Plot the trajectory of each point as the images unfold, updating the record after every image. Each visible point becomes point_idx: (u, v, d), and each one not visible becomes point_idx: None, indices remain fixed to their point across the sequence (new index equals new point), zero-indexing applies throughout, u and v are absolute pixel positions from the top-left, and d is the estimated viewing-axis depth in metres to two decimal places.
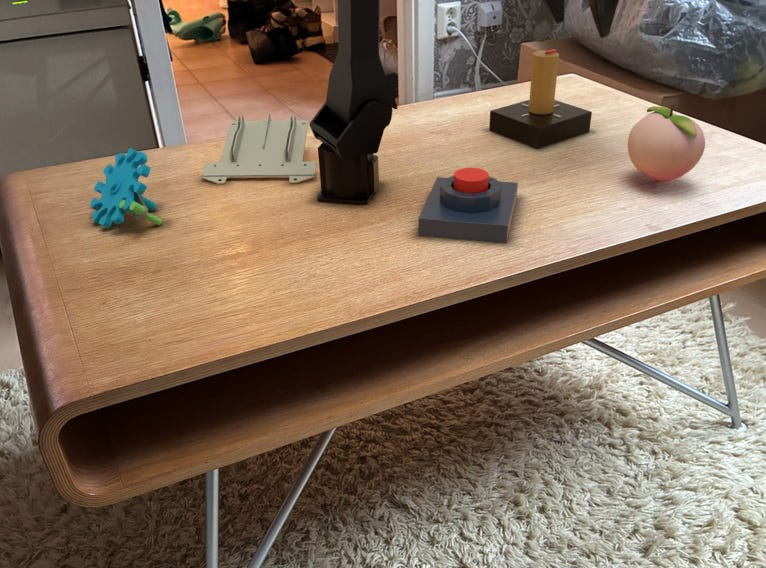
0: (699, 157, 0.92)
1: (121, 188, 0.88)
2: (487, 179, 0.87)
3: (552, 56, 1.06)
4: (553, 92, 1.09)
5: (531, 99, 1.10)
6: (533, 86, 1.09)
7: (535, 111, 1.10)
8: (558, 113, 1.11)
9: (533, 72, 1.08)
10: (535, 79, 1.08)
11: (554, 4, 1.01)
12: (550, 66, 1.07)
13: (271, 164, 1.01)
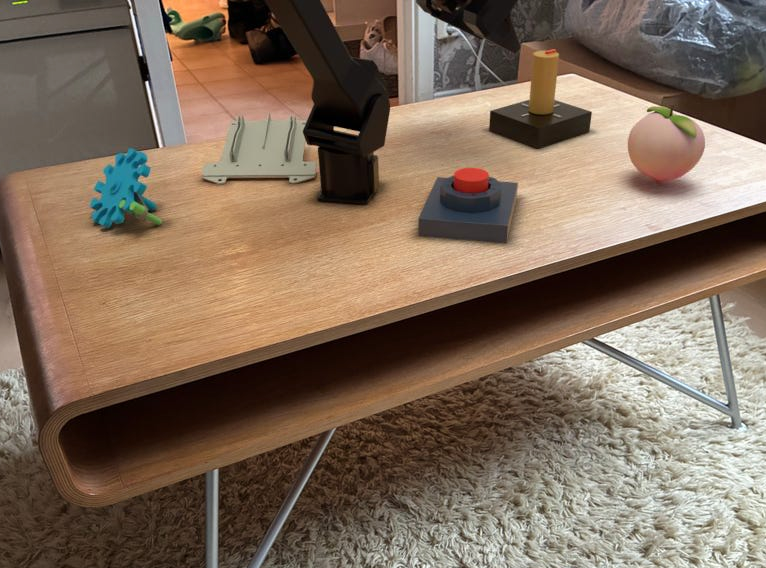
0: (699, 157, 0.92)
1: (121, 188, 0.88)
2: (487, 179, 0.87)
3: (552, 56, 1.06)
4: (553, 92, 1.09)
5: (531, 99, 1.10)
6: (533, 86, 1.09)
7: (535, 111, 1.10)
8: (558, 113, 1.11)
9: (533, 72, 1.08)
10: (535, 79, 1.08)
11: (470, 27, 1.05)
12: (550, 66, 1.07)
13: (271, 164, 1.01)
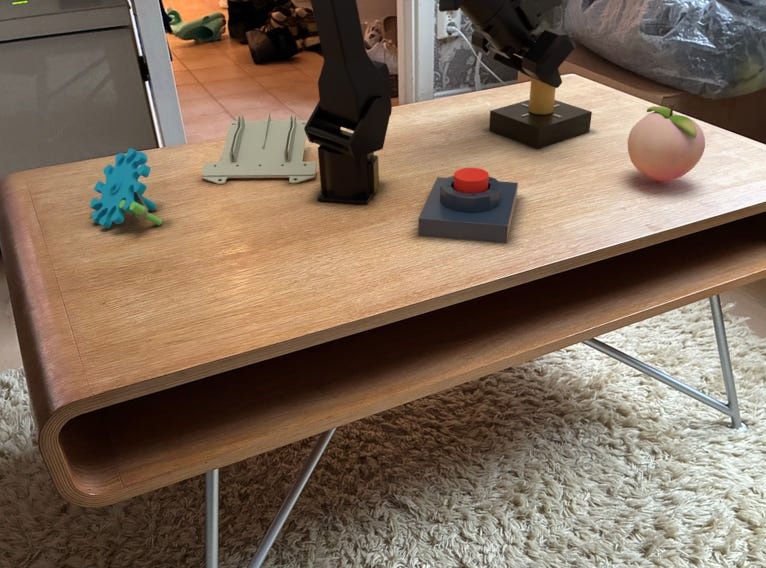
0: (699, 157, 0.92)
1: (121, 188, 0.88)
2: (487, 179, 0.87)
3: None
4: (553, 92, 1.09)
5: (531, 99, 1.10)
6: (533, 86, 1.09)
7: (535, 111, 1.10)
8: (558, 113, 1.11)
9: None
10: (535, 79, 1.08)
11: None
12: None
13: (271, 164, 1.01)
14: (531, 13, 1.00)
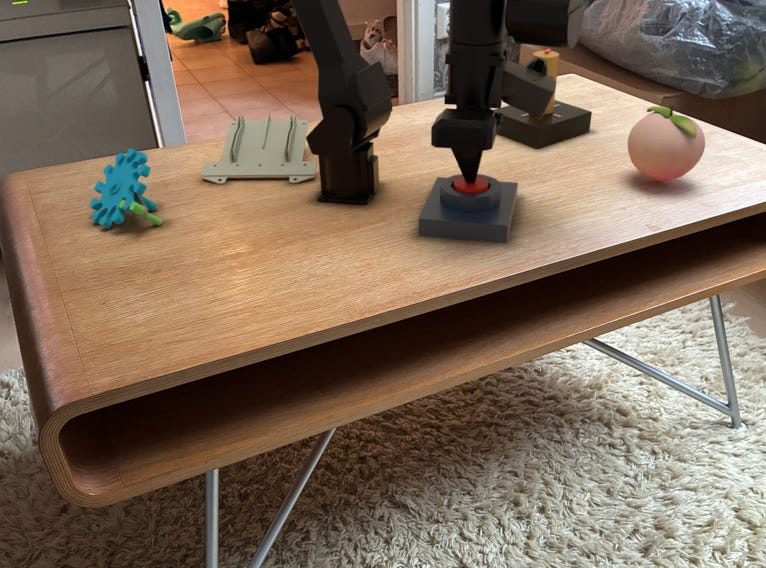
0: (699, 157, 0.92)
1: (121, 188, 0.88)
2: (487, 187, 0.87)
3: (556, 55, 1.06)
4: None
5: None
6: None
7: None
8: (558, 113, 1.11)
9: None
10: None
11: None
12: (556, 65, 1.07)
13: (271, 164, 1.01)
14: (498, 87, 0.78)
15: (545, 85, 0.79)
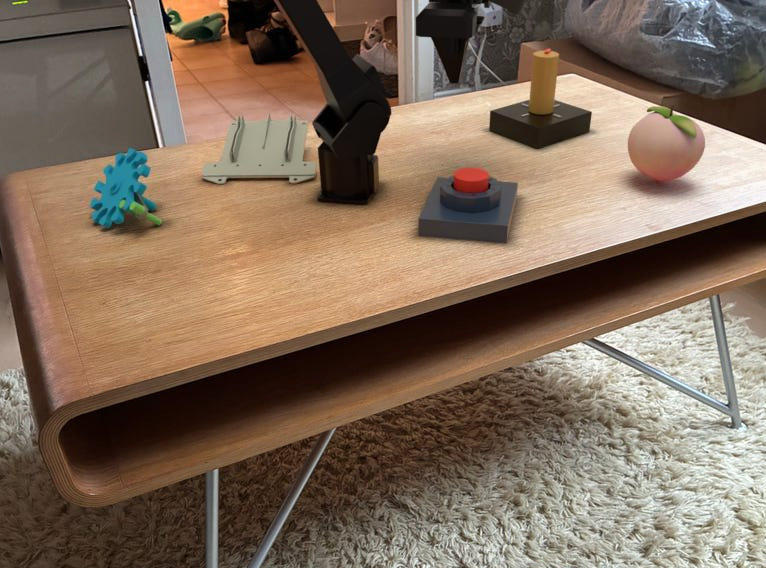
0: (699, 157, 0.92)
1: (121, 188, 0.88)
2: (487, 179, 0.87)
3: (556, 55, 1.06)
4: None
5: (536, 101, 1.10)
6: (538, 87, 1.08)
7: (542, 111, 1.10)
8: (558, 113, 1.11)
9: (538, 73, 1.07)
10: (540, 80, 1.08)
11: None
12: (556, 65, 1.07)
13: (271, 164, 1.01)
14: None
15: None
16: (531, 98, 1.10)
